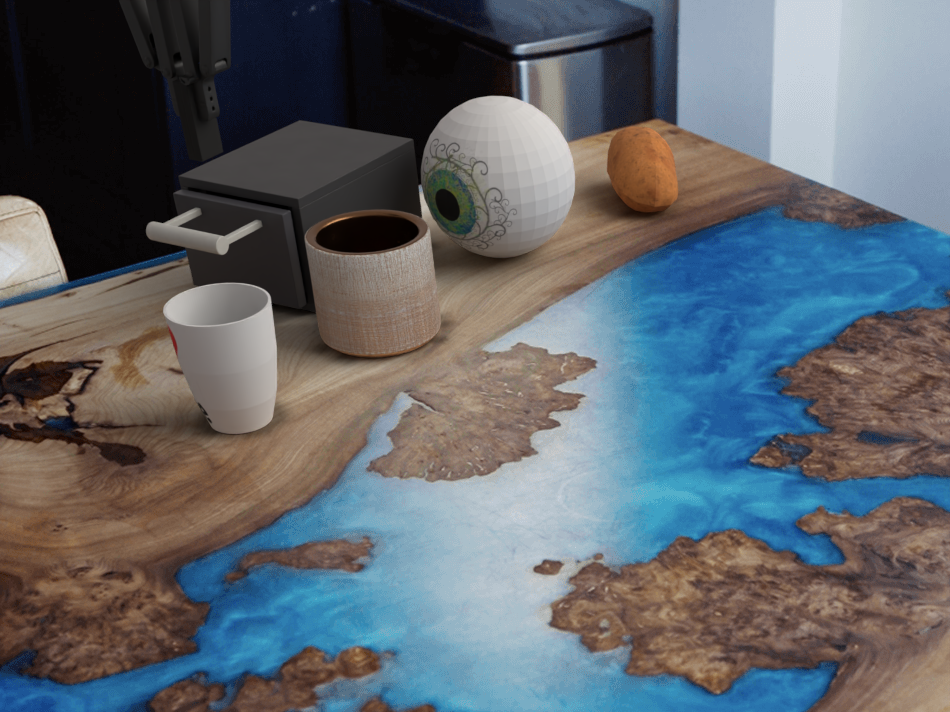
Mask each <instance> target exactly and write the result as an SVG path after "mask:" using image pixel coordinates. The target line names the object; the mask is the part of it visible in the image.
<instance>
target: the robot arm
mask: <svg viewBox="0 0 950 712" xmlns="http://www.w3.org/2000/svg"><path fill="white" fill-rule="evenodd" d="M118 2H119V5H120V8H121V9H122V12H123V15H124V16H125V17H124V18H125V20H126V22H127V24H128V25H127V26H128V28H129V29H130V32H131V34H132V37H133V40H134V42H135V45H136V47H137V50H138V53H139V55H140V58H141V60H142V63H143V64H144V66H145V67H146V68H148V69H150V70H151V69H155V70H158V71H159V72H161V75H162V76H163V78H165V79H166V81H167V85H168V89H169V94H170V99H171V102H172V108H173V111H174V113H175V115H176V117H179V120H180V123H181V128H182V132H183V138H184V141H185V146H186V151H187V157H188V159H189V161H196V162H205V161H207V160H209V159H211V158H214V157H217V156H219V155H220V154H222V153H224V147H223V143H222V138H221V133H220V129H219V123H218V119H217V118H218V117H220V114H221V113H220V105H219V101H218V100H219V99H218V94H217V90H216V84H215V77H216V75H218V74H220V73H223V72H226V71H227V70H229V69H230V68H231V67H232V52H231V49H232V47H231V46H232V45H231V44H232V43H231V39H232V38H231V0H118Z"/></svg>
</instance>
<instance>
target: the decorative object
mask: <svg viewBox="0 0 950 712" xmlns="http://www.w3.org/2000/svg"><path fill="white" fill-rule="evenodd" d="M570 149H571V148H570V146H569V144H568V142H567V140H566V138H565V136H564V135H563V133H562V132H561V130H560V129H559V127H558V126H557V125H556V124H555V122H554V121H553V120H552V119H551V118H550V117H549V116H548V115H547V114H545V113H544V112H543V111H541V110H540V109H538V108H537V107H536V106H535V105H533V104H531V103H528V102H526V101H523V100H521V99H518V98H516V97H513V96H512V97H511V96H505V95H487V96H480V97H476V98H475V97H474V98H472V99H469V100H467V101H465V102H462V103H461V104H459V105H458V106H457V105H456V107H454V108H453V109H451V110H450V111H449V112H447V114H446V115H444V116H443V117H442V118H441V119H440V120H439V122H438V123H437V125H436V126H435V128H434V129H433V130H432V132H431V133H430V134H429V137H428V139H427V142H426V144H425V147H424V149H423V155H422V159H421V165H420V184H421V190H422V194H423V198H424V201H425V203H426V206H427V208H428V210H429V213H430V215H431V217H432V220H433V221H434V222H435V223H436V224H437V226H438V227H439V229H440V230H441V231H442V232H443V233H444V234H445V235H446V236H447V237H448V238H449V239H450V240H451V241H453V242H454V243H455V244H457V245H458V246H460V247H461V248H463V249H465V250H466V251H468V252H470V253H473V254H476V255H480V256H483V257H487V258H492V259H493V258H494V259H507V258H515V257H519V256H523V255H525V254H527V253H530V252H533V251H535V250H537V249H538V248H540V247H542V245H544V244H545V243H547V242H548V241H549V240H550V239H552V238H553V236H554V235H555V234H556V233H557V232H558V230H559V229H560V228H561V227H562V225H563V224H564V223H565V220H566V218H567V216H568V214H569V212H570V210H571V207H572V204H573V200H574V196H575V188H576V172H575V164H574V158H573V154H572V152H571V150H570Z"/></svg>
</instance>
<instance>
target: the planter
mask: <svg viewBox="0 0 950 712" xmlns="http://www.w3.org/2000/svg"><path fill="white" fill-rule="evenodd" d="M431 238H432V237H431V230H430V225H429V224H428V222H427V221H426V220H425V219H424V218H423V217H422V218H420V217H419V216H416V215H414V214H411V213H407V212H402V211H396V210H382V209H375V210H360V211H353V212H347V213H343V214H339V215H335V216H332V217H329V218H326V219H324V220H322V221H320V222H318V223H316V224H315V225H313V226H312V227H311V228H310V229H308V231H307V232H306V234H305V245H306V251H307V257H308V263H309V269H310V275H311V282H312V288H313V295H314V302H315V308H316V313H315V314H316V321H317V326H318V332H319V335H320V339H321V340H322V342H323V343H324V344H325V345H326V346H327V347H329V348H331V349H333V350H334V351H336V352H339V353H341V354H344V355H347V356H352V357H358V358H371V359H372V358H373V359H374V358H376V359H377V358H387V357H388V358H389V357H395V356H399V355H403V354H407V353H410V352H413V351H415V350H417V349H419V348H421V347H424V346H425V345H426V344H428V343H429V342H430V341H432V339H434V338H435V337H436V336H437V335H438V333H439V332H440V330H441V326H442V316H441V308H440V300H439V293H438V287H437V286H438V285H437V277H436V270H435V269H436V268H435V262H434V254H433V245H432V239H431Z"/></svg>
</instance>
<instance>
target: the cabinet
mask: <svg viewBox="0 0 950 712" xmlns="http://www.w3.org/2000/svg"><path fill="white" fill-rule="evenodd" d="M417 169H418V168H417V160H416V151H415V143H414V138H409V137H402V136H397V135H390V134H384V133H380V132H373V131H368V130H361V129H355V128H349V127H344V126H336V125H331V124H326V123H319V122H314V121H313V122H312V121H307V120H300V119H299V120H298V121H295V122H293V123H291V124H289V125H287V126H284V127H282V128H279V129H277V130H276V131H273V132H271V133H269V134H267V135H264V136H263V137H260V138H258V139H256V140H254V141H251V142H250V143H247V144H245V145H243V146H240V147H238V148H236V149H234V150H232V151H230V152H228V153H225V154H223V155H220V156H219V157H217V158H215V159H212V160H210V161H208V162H205V163H204V164H201V165H200V166H196V167H195V168H193V169H190V170H188V171H186V172H184V173H181V174H179V175H178V181H179V186H180V190H181V189H183V190H188V191H193V192H198V193H200V189H202V190H207V191H212V192H217V193H222V194H227V195H232V196H238V197H243V198H248V199H253V200H258V201H263V202H268V203H273V204H278V205H284V206H289V207H292V211H293V217H294V223H295V229H296V234H297V240H298V246H299V252H300V258H301V263H302V269H303V275H304V281H305V286H306V292H307V293H305V297H306V303H307V304H306V305H305V306H303V307H302V308H300V309H299V310H303V311H307V312H311V313H315V314H316V308H315V302H314V295H313V288H312V282H311V275H310V269H309V263H308V257H307V251H306V245H305V234H306V232H307V231H308V229H310V228H311V227H312V226H313V225H315V224H316V223H318V222H320V221H322V220H324V219H326V218H329V217H332V216H335V215H339V214H343V213H347V212H353V211H360V210H375V209H382V210H396V211H402V212H407V213H411V214H414V215H416V216H419V217H420V218H422V219H423V212H422V203H421V195H420V187H419V178H418V177H419V176H418V170H417Z"/></svg>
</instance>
